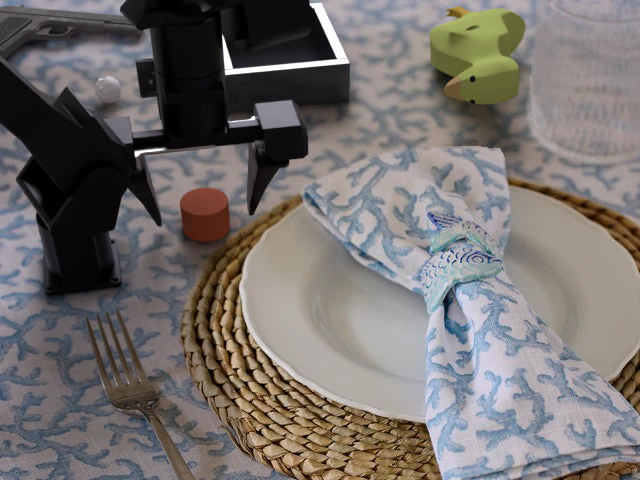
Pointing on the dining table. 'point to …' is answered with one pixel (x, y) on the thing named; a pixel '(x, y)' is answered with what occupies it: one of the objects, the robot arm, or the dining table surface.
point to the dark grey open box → (289, 69)
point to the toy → (478, 54)
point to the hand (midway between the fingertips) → (205, 218)
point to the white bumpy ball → (108, 89)
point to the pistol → (55, 26)
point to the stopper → (205, 214)
